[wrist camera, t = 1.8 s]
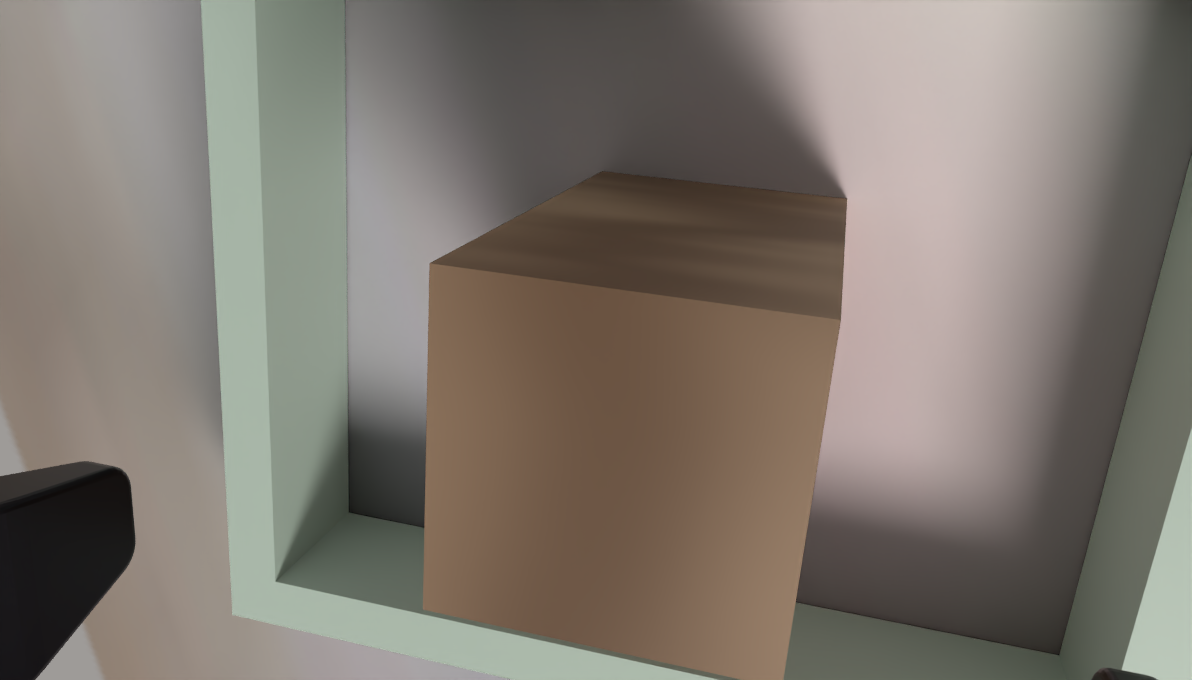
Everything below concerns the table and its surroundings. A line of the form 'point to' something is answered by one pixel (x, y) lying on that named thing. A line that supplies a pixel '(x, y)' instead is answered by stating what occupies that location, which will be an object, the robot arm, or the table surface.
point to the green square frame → (396, 551)
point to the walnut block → (633, 418)
